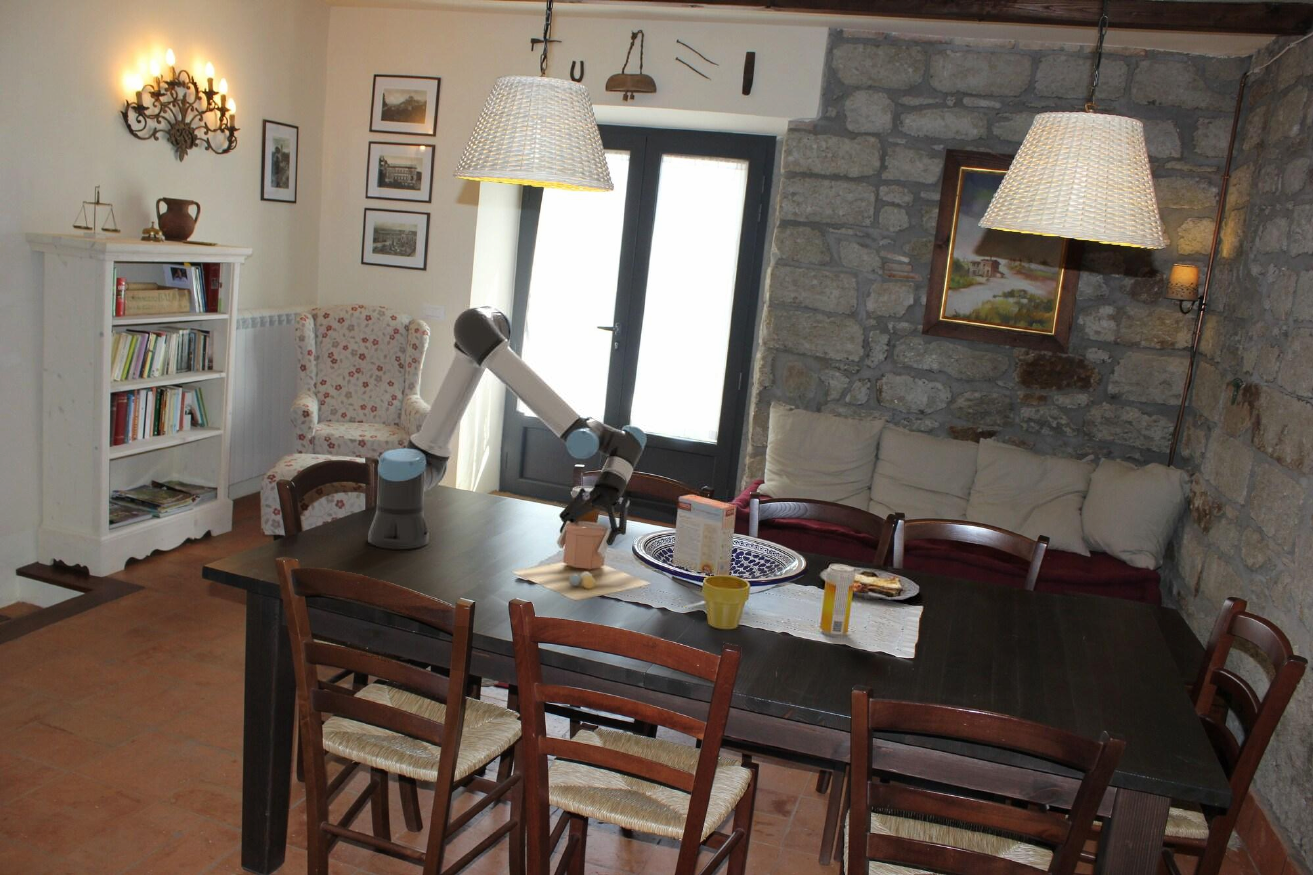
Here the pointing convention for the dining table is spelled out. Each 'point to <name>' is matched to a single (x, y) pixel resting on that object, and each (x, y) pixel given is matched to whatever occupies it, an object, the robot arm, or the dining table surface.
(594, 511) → the disposable coffee cup
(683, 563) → the cracker box
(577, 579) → the grey ball
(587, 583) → the marble amber
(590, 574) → the marble ivory
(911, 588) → the food plate
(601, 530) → the terracotta cup
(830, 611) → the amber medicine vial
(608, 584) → the bamboo mat
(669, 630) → the dining table surface
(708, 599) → the plant pot
